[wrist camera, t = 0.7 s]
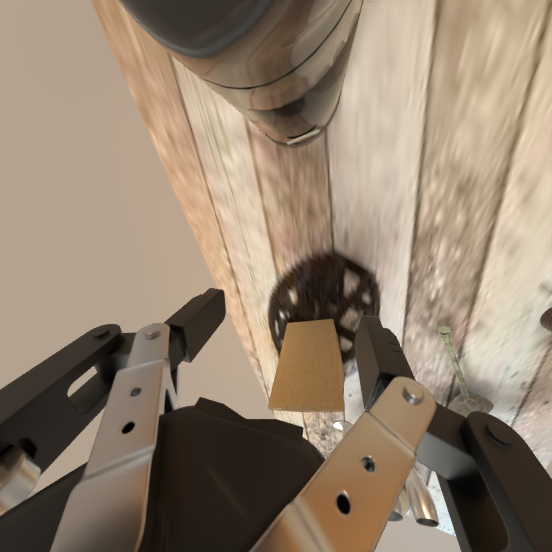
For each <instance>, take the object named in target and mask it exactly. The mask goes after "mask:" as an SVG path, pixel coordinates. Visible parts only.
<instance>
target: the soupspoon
mask: <svg viewBox="0 0 552 552" xmlns="http://www.w3.org/2000/svg"><path fill="white" fill-rule="evenodd" d="M451 330H452V329H451V327H449V326H439V327H437V331H438V332H440V334H441V335H442V337H443V340H444V341H445V342H446V343H445V345H446V346H447V349H448V353H449V356H450V359H451V362H452V365H453V368H454V371H455V373H456V376H457V379H458V383H459V387H460V390H461V393H460V394H459V395H457V396H456V397H455V398H454V399H453V400H452V401H451V403H450V404H449V405H448V407H447V408H448V409H450V410H452V411H454V412H456V413H459V414H461V415H463V416H465V417H467V416H468V414H469V413H470V412H472V411H480V412H485V413H489V412H490V411H491V410H492V408H493V406H494V405H493V403H492V402H490V401H489V400H487V399H485V398H483V397H481V396H478V395H475V394H472V393H469V392H468V389H467V386H466V383H465V380H464V378H463V374H462V372H461V369H460V367H459V365H458V362H457V359H456V356H455V353H454V351H453V348H452V345H453V343H451V337H450V331H451Z"/></svg>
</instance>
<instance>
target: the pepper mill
mask: <svg viewBox="0 0 552 552" xmlns="http://www.w3.org/2000/svg"><path fill="white" fill-rule="evenodd" d="M540 323H541V325H542V326H543V327H544V328H546V329H547V330H549V331H550V332H552V308H551V309H549V310H548V311H546V312H545V313H544V314H543V315H542V317H541V320H540Z"/></svg>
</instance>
